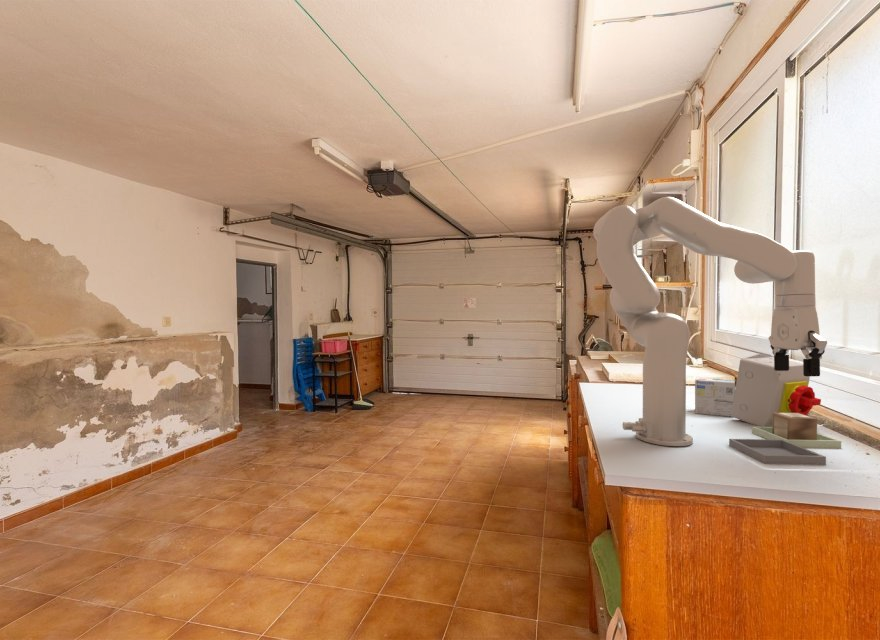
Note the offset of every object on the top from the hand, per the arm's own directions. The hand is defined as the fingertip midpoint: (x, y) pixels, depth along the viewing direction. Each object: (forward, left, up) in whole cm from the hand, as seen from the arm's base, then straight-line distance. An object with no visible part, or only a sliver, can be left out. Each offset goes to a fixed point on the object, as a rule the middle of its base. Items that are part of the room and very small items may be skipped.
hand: (796, 373), depth 103 cm
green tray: (0, +1, -17) cm, 17 cm away
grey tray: (-12, -10, -17) cm, 23 cm away
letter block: (0, +1, -17) cm, 17 cm away
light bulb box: (-2, +31, -17) cm, 36 cm away
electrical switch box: (+7, +17, -17) cm, 25 cm away
